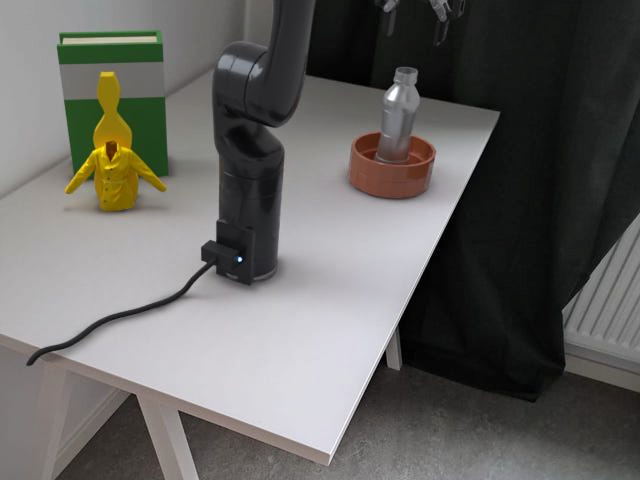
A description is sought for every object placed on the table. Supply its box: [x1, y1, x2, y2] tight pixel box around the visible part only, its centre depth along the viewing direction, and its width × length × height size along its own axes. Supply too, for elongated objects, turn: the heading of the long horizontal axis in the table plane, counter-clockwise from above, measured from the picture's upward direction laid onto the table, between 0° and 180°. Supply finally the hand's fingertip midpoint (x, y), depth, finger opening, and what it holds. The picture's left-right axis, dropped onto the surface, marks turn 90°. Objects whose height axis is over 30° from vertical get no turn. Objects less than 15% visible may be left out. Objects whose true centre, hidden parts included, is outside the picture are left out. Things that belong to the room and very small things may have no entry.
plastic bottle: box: [374, 66, 421, 165], centre depth 129 cm, size 6×7×20 cm
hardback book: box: [56, 29, 169, 180], centre depth 131 cm, size 18×7×24 cm, turn 96°
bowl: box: [347, 130, 437, 199], centre depth 134 cm, size 15×15×6 cm
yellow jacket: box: [64, 72, 168, 212], centre depth 121 cm, size 18×8×22 cm, turn 93°
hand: (412, 39), depth 120 cm, fingers open, 8 cm apart
